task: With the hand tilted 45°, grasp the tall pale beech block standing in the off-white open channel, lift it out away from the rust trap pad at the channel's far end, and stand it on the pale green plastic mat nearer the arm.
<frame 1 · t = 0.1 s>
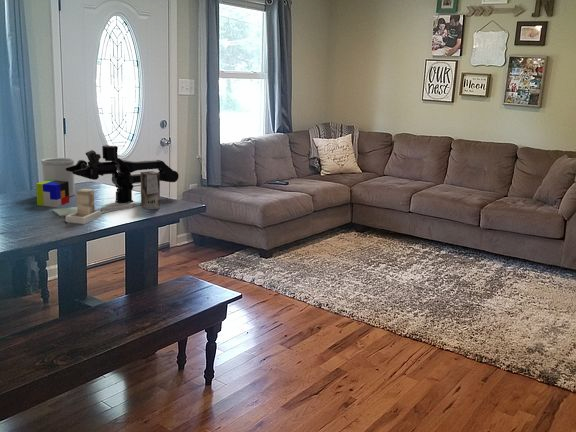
hand: (69, 170, 265), 17 cm above the table, tool horizontal, fingers open, 9 cm apart
puzzle toy: (53, 204, 274), on the table
coffee box: (150, 207, 275), on the table
channel: (86, 218, 251), on the table
mat: (69, 212, 260), on the table
block: (85, 204, 250), in the channel
rod: (116, 210, 269), on the table
utensil holder: (59, 195, 291), on the table
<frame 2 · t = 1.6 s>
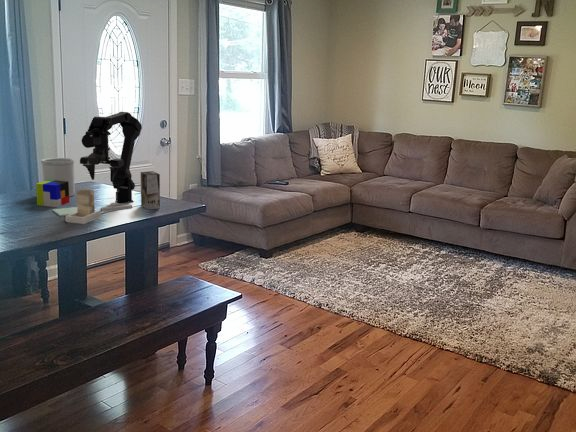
hand: (102, 180, 265), 13 cm above the table, tool pointing down, fingers open, 9 cm apart
nothing on the table moved.
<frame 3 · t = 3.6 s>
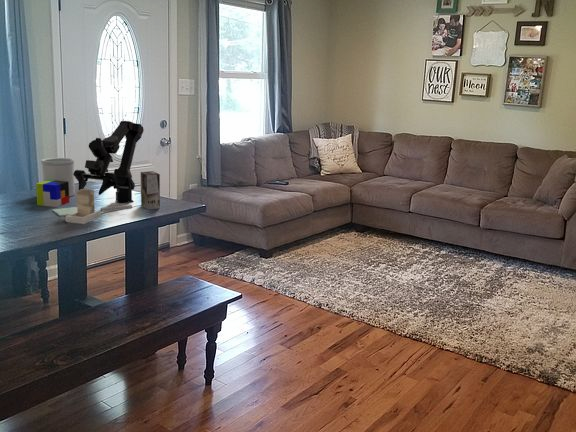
hand: (89, 193, 252), 10 cm above the table, tool tilted 45°, fingers open, 9 cm apart
nothing on the table moved.
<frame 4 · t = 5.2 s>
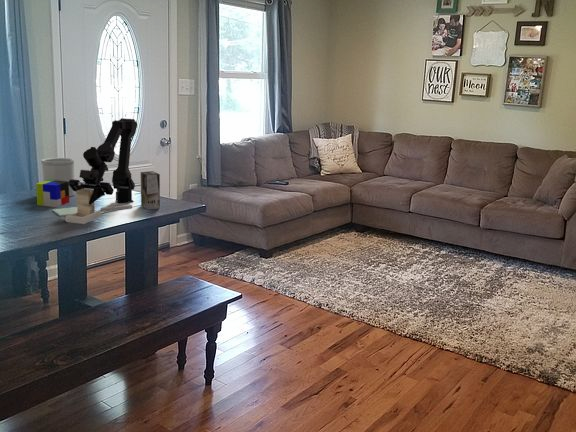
hand: (83, 203, 249), 7 cm above the table, tool tilted 45°, fingers closed on block, 5 cm apart
block: (85, 204, 250), in the channel, touching gripper
everything else where it was.
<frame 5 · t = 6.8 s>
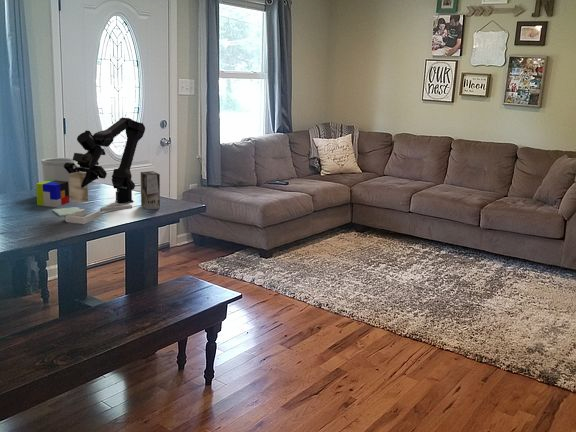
hand: (76, 186, 251), 13 cm above the table, tool tilted 45°, fingers closed on block, 5 cm apart
block: (78, 187, 252), point 12 cm above the table, touching gripper
everything else where it was.
when the fingers open (9 cm above the table, at t = 8.5 s): block drops 2 cm, resting on mat.
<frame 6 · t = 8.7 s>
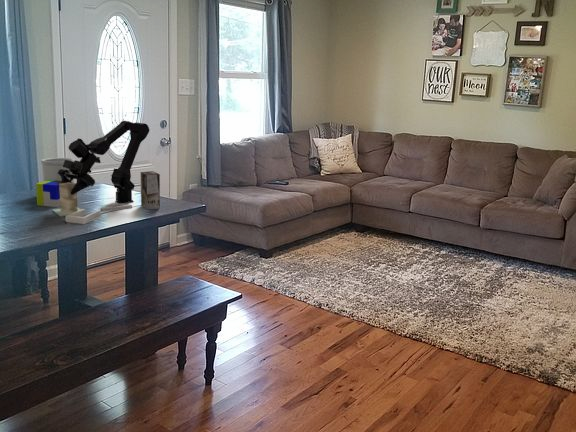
hand: (65, 192, 256), 9 cm above the table, tool tilted 45°, fingers open, 7 cm apart
block: (68, 197, 258), on the mat, point 7 cm above the table
everything else where it was.
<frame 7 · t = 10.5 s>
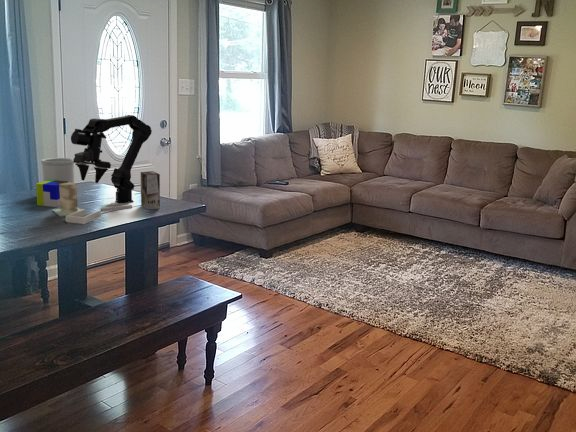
hand: (89, 181, 266), 12 cm above the table, tool pointing down, fingers open, 9 cm apart
nothing on the table moved.
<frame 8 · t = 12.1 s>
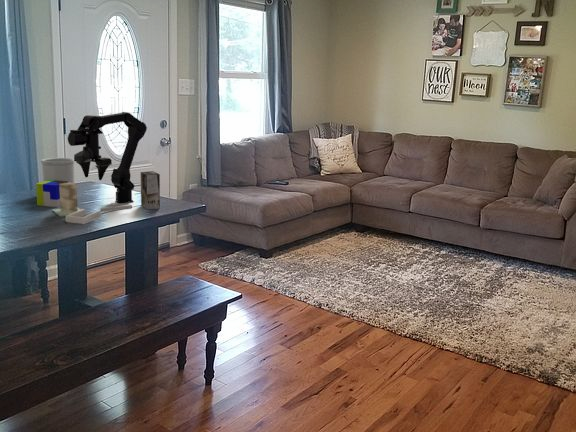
hand: (93, 178, 268), 13 cm above the table, tool pointing down, fingers open, 9 cm apart
nothing on the table moved.
at the end: block inside the target area on the mat (0.0 cm from its centre), point 6.6 cm above the mat's base; block tilted 0°; the gripper is holding nothing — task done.
